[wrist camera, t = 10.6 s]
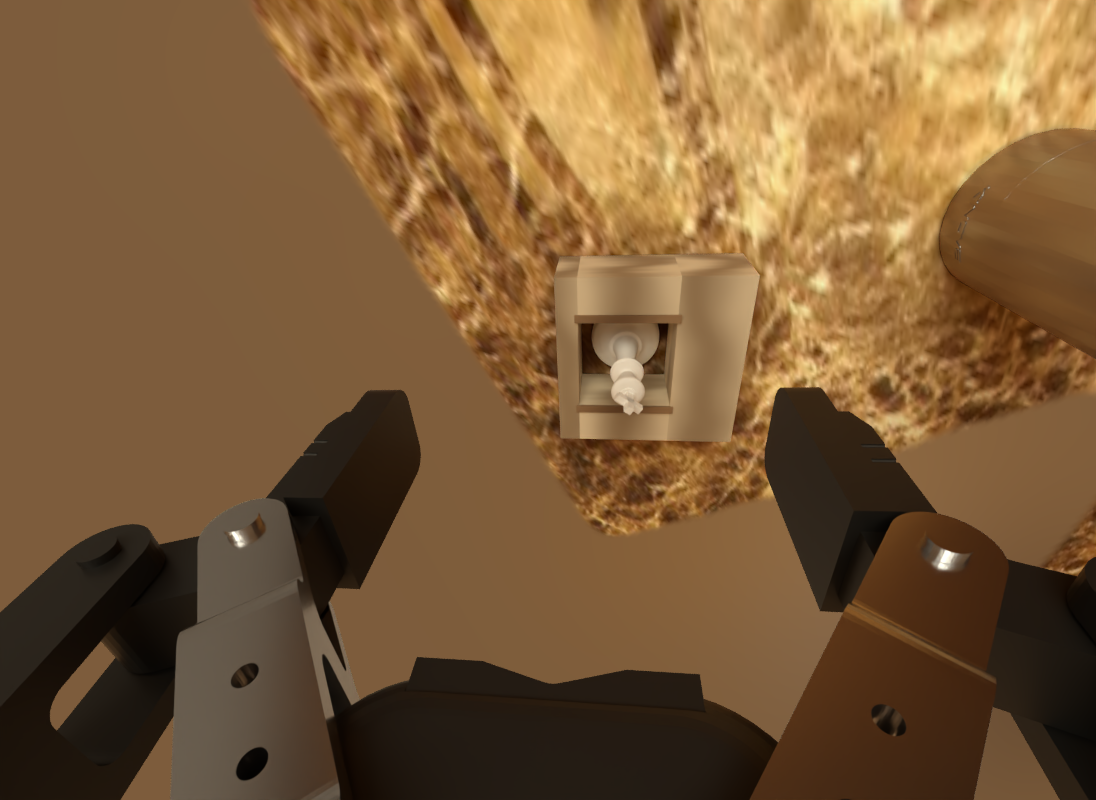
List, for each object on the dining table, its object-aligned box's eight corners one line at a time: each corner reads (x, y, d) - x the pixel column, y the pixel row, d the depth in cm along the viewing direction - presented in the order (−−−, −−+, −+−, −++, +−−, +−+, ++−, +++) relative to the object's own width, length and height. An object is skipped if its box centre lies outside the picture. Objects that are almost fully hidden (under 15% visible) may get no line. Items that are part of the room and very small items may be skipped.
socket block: (742, 253, 33) (760, 276, 29) (718, 407, 39) (730, 443, 36) (560, 256, 34) (553, 278, 31) (565, 404, 41) (560, 439, 37)
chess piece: (632, 376, 39) (638, 458, 30) (578, 344, 38) (569, 419, 29) (673, 327, 36) (692, 401, 28) (616, 291, 35) (618, 357, 27)
